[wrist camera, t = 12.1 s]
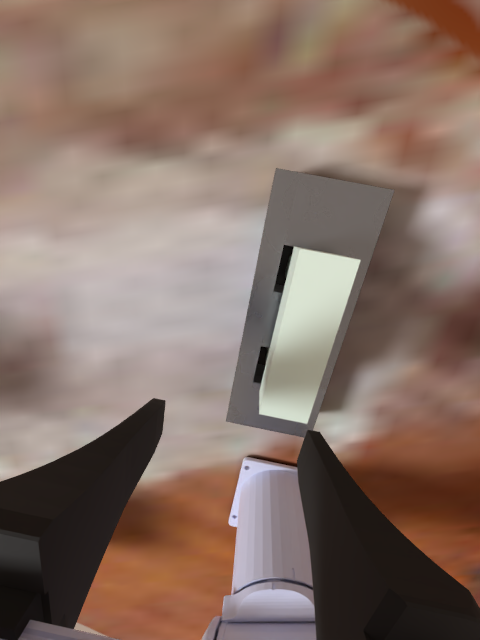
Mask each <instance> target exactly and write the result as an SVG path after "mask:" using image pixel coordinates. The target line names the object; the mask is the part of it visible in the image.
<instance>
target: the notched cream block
mask: <svg viewBox="0 0 480 640" xmlns="http://www.w3.org/2000/svg"><path fill="white" fill-rule="evenodd" d="M360 261H361V260H359V259H355V258H351V257H347V256H343V255H337V254H332V253H327V252H322V251H316V250H311V249H306V248H300V247H295V246H294V249H293V253H292V256H289V258H288V262H287V266H286V270H285V276H286V282H285V286H284V290H283V295H282V299H281V303H280V307H279V311H278V315H277V320H276V324H275V328H274V332H273V336H272V341H271V345H270V348H268V347H267V351H266V355H265V364H266V366H265V370H264V374H263V378H262V382H261V387H260V391H259V414H261V415H266V416H271V417H276V418H281V419H286V420H291V421H296V422H300V423H305V424H307V423H308V420H309V417H310V414H311V411H312V408H313V405H314V402H315V398H316V395H317V392H318V389H319V386H320V383H321V380H322V377H323V374H324V371H325V368H326V365H327V362H328V359H329V356H330V353H331V350H332V347H333V343H334V340H335V337H336V334H337V331H338V328H339V325H340V322H341V319H342V316H343V313H344V310H345V307H346V304H347V301H348V298H349V295H350V292H351V289H352V285H353V282H354V279H355V276H356V273H357V270H358V267H359V264H360Z"/></svg>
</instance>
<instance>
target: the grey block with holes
mask: <svg viewBox="0 0 480 640" xmlns="http://www.w3.org/2000/svg"><path fill="white" fill-rule="evenodd" d="M393 193H394V190H392V189H386V188H381V187H376V186H370V185H365V184H359V183H354V182H349V181H343V180H338V179H332V178H327V177H321V176H316V175H311V174H305V173H300V172H294V171H289V170H283V169H278V168H276V170H275V175H274V180H273V185H272V190H271V195H270V200H269V205H268V210H267V215H266V220H265V225H264V230H263V235H262V241H261V246H260V251H259V256H258V261H257V266H256V271H255V276H254V281H253V286H252V291H251V296H250V301H249V306H248V311H247V316H246V321H245V327H244V332H243V337H242V342H241V347H240V352H239V357H238V362H237V367H236V372H235V377H234V382H233V387H232V392H231V397H230V402H229V408H228V413H227V418H226V422H231V423H236V424H241V425H246V426H251V427H256V428H261V429H265V430H270V431H275V432H280V433H285V434H290V435H295V436H300V437H304V438H305V435H306V432H307V430H311V431H313V428H314V425H315V422H316V419H317V417H318V414H319V411H320V408H321V405H322V402H323V399H324V396H325V393H326V390H327V387H328V384H329V381H330V378H331V375H332V372H333V370H334V367H335V364H336V361H337V358H338V355H339V352H340V349H341V346H342V343H343V340H344V337H345V334H346V331H347V328H348V325H349V322H350V320H351V317H352V314H353V311H354V308H355V305H356V302H357V299H358V296H359V293H360V290H361V287H362V284H363V281H364V278H365V275H366V272H367V270H368V267H369V264H370V261H371V258H372V255H373V252H374V249H375V246H376V243H377V240H378V237H379V234H380V231H381V228H382V225H383V223H384V220H385V217H386V214H387V211H388V208H389V205H390V202H391V199H392V196H393ZM284 245H288V246H293V247H294V246H295V247H300V248H306V249H311V250H316V251H322V252H327V253H332V254H337V255H343V256H347V257H351V258H355V259H359V260H361V261H360V264H359V267H358V270H357V273H356V276H355V279H354V282H353V285H352V289H351V292H350V295H349V298H348V301H347V304H346V307H345V310H344V313H343V316H342V319H341V322H340V325H339V328H338V331H337V334H336V337H335V340H334V343H333V347H332V350H331V353H330V356H329V359H328V362H327V365H326V368H325V371H324V374H323V377H322V380H321V383H320V386H319V389H318V392H317V395H316V398H315V402H314V405H313V408H312V411H311V414H310V417H309V420H308V423H307V424H305V423H300V422H296V421H291V420H286V419H281V418H276V417H271V416H266V415H261V414H259V391H260V387H261V382H262V378H263V374H264V370H265V366H266V365H261V364H257V361H258V357H259V352H260V348H261V346H263V347H268V348H270V345H271V341H272V336H273V332H274V328H275V324H276V320H277V315H278V311H279V307H280V303H281V299H282V295H283V290H284V286H283V285H278V284H275V282H276V277H277V273H278V268H279V264H280V260H281V255H282V251H283V246H284Z"/></svg>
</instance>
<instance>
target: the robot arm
mask: <svg viewBox="0 0 480 640" xmlns="http://www.w3.org/2000/svg"><path fill="white" fill-rule="evenodd" d="M164 411H165V400H160V399H155V398H153V399H152V400H150V401H149V402H148V403H147V404H145V405H144V406H143V407H142V408H140V409H139V410H138V411H136V412H135V413H134V414H132V415H131V416H130V417H128V418H127V419H126V420H124V421H123V422H121V423H120V424H119V425H117V426H116V427H114V428H113V429H111V430H110V431H108V432H107V433H105V434H104V435H102V436H100V437H99V438H97V439H96V440H94V441H92V442H90V443H89V444H87V445H85V446H83V447H82V448H80V449H78V450H76V451H74V452H72V453H70V454H68V455H66V456H63V457H61V458H59V459H57V460H55V461H53V462H51V463H48V464H46V465H44V466H41V467H39V468H37V469H34V470H31V471H29V472H26V473H24V474H21V475H19V476H16V477H13V478H10V479H7V480H4V481H1V482H0V640H119V639H115V638H110V637H106V636H101V635H97V634H92V633H87V632H83V631H79V630H74V627H75V624H76V622H77V619H78V617H79V614H80V612H81V609H82V607H83V604H84V602H85V599H86V597H87V594H88V592H89V589H90V587H91V584H92V582H93V580H94V577H95V575H96V572H97V570H98V568H99V565H100V563H101V560H102V558H103V556H104V553H105V551H106V549H107V546H108V544H109V542H110V539H111V537H112V535H113V532H114V530H115V528H116V526H117V523H118V521H119V519H120V517H121V514H122V512H123V510H124V508H125V506H126V504H127V502H128V500H129V498H130V496H131V494H132V492H133V491H134V489H135V487H136V485H137V483H138V482H139V480H140V478H141V476H142V474H143V472H144V471H145V469H146V467H147V465H148V463H149V461H150V460H151V458H152V456H153V454H154V452H155V450H156V447H157V445H158V442H159V440H160V437H161V435H162V431H163V421H164ZM246 466H248V467H246ZM229 524H230V525H231V526H234V527H237V535H236V546H235V558H234V570H233V582H232V594H231V595H226V596H224V602H223V611H222V616H216V617H214V618H213V619H212V621H211V622H210V624H209V626H208V628H207V630H206V631H205V633H204V635H203V637H202V640H480V608H479V606H478V605H477V603H476V601H475V599H474V598H473V596H472V595H471V593H470V591H469V590H468V589H466V588H465V587H464V586H463V585H461V584H460V583H459V582H458V581H456V580H455V579H454V578H453V577H451V576H450V575H449V574H448V573H446V572H445V571H444V570H443V569H441V568H440V567H439V566H438V565H437V564H435V563H434V562H433V561H432V560H431V559H430V558H428V557H427V556H426V555H425V554H424V553H423V552H422V551H421V550H419V549H418V548H417V547H416V546H415V545H414V544H413V543H412V542H411V541H410V540H408V539H407V538H406V537H405V536H404V535H403V534H402V533H401V532H400V531H399V530H398V529H397V528H396V527H395V526H394V525H393V524H392V523H391V522H390V521H389V520H388V519H387V518H386V517H385V516H384V515H383V514H382V513H381V512H380V511H379V509H378V508H377V507H376V506H375V505H374V504H373V503H372V502H371V501H370V499H369V498H368V497H367V496H366V495H365V494H364V492H363V491H362V490H361V489H360V487H359V486H358V485H357V484H356V482H355V481H354V480H353V479H352V477H351V476H350V475H349V473H348V472H347V471H346V469H345V468H344V467H343V465H342V464H341V463H340V461H339V460H338V458H337V457H336V455H335V454H334V453H333V451H332V450H331V448H330V447H329V445H328V444H327V442H326V441H325V439H324V438H323V436H322V435H321V433H320V432H316V431H311V430H307V432H306V435H305V438H304V441H303V444H302V447H301V450H300V454H299V457H298V460H297V467H293V466H289V465H284V464H279V463H274V462H269V461H264V460H260V459H255V458H250V457H246V458H244V459H243V463H242V467H241V471H240V475H239V479H238V483H237V488H236V492H235V496H234V500H233V504H232V508H231V513H230V517H229Z"/></svg>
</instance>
